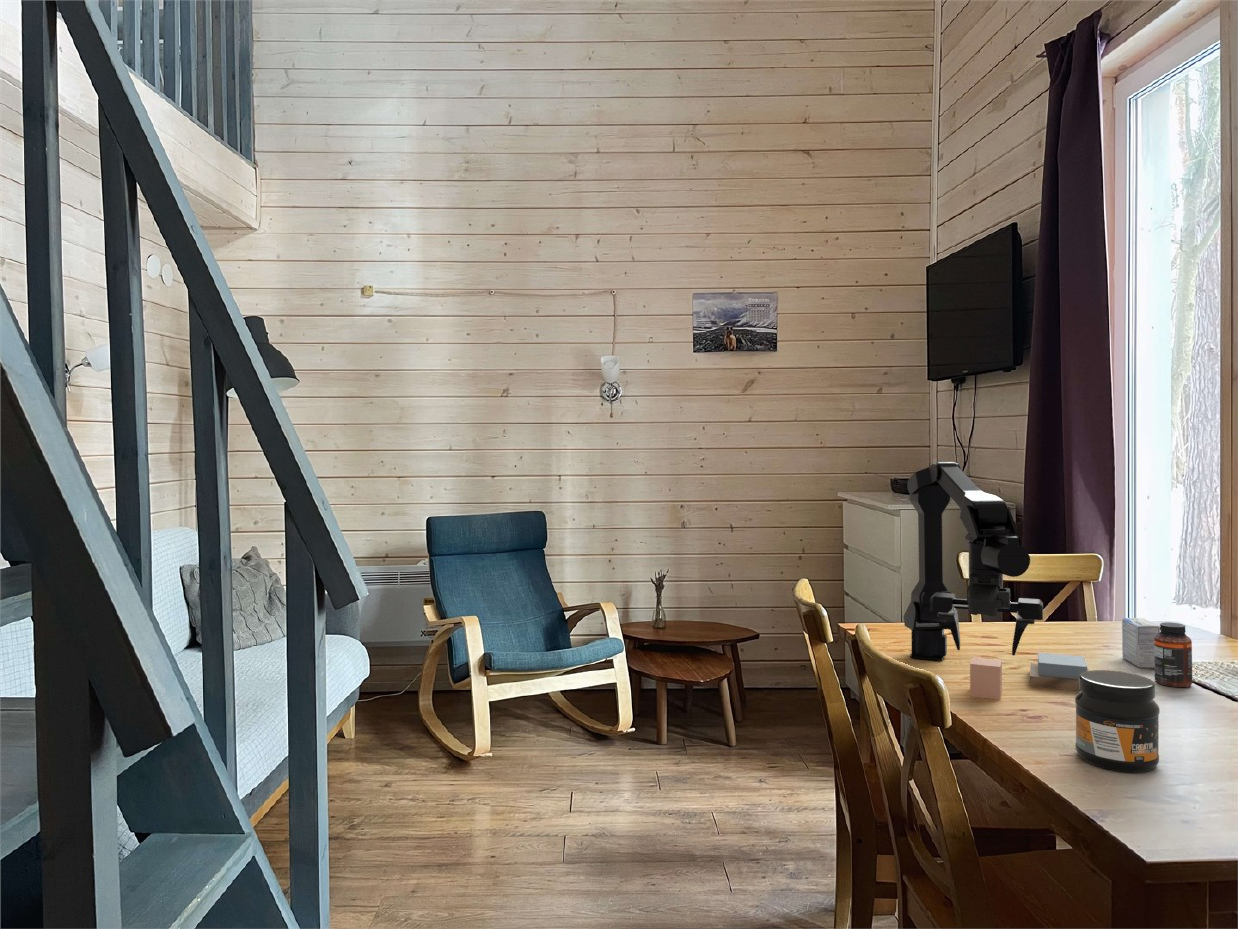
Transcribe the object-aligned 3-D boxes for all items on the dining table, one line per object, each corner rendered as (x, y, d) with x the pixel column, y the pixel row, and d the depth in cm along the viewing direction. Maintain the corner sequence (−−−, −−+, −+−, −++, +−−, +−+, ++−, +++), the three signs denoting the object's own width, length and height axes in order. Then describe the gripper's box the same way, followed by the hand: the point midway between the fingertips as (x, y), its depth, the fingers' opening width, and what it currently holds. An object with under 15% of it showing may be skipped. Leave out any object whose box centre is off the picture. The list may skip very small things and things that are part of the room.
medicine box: (1161, 669, 167) (1161, 626, 167) (1136, 668, 168) (1137, 625, 167) (1144, 658, 175) (1145, 617, 174) (1121, 658, 175) (1121, 617, 175)
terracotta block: (970, 696, 152) (970, 663, 151) (972, 689, 156) (972, 657, 156) (1000, 700, 149) (1000, 667, 149) (1001, 692, 154) (1001, 660, 153)
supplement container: (1101, 776, 115) (1101, 690, 115) (1060, 747, 126) (1060, 669, 126) (1176, 774, 116) (1177, 689, 115) (1130, 746, 126) (1130, 668, 126)
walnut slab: (1029, 689, 157) (1029, 676, 157) (1030, 675, 166) (1030, 663, 166) (1090, 695, 153) (1090, 682, 153) (1088, 681, 162) (1088, 668, 162)
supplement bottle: (1186, 680, 159) (1186, 621, 158) (1196, 689, 153) (1197, 628, 153) (1150, 678, 161) (1150, 620, 160) (1159, 687, 155) (1159, 626, 155)
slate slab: (1039, 675, 157) (1038, 662, 157) (1037, 665, 165) (1037, 652, 165) (1087, 680, 154) (1087, 667, 154) (1084, 669, 161) (1084, 656, 161)
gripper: (925, 571, 149) (926, 657, 150) (1042, 578, 141) (1042, 669, 141) (933, 562, 159) (933, 643, 160) (1043, 568, 150) (1042, 653, 151)
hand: (985, 652), depth 152 cm, fingers open, 9 cm apart
